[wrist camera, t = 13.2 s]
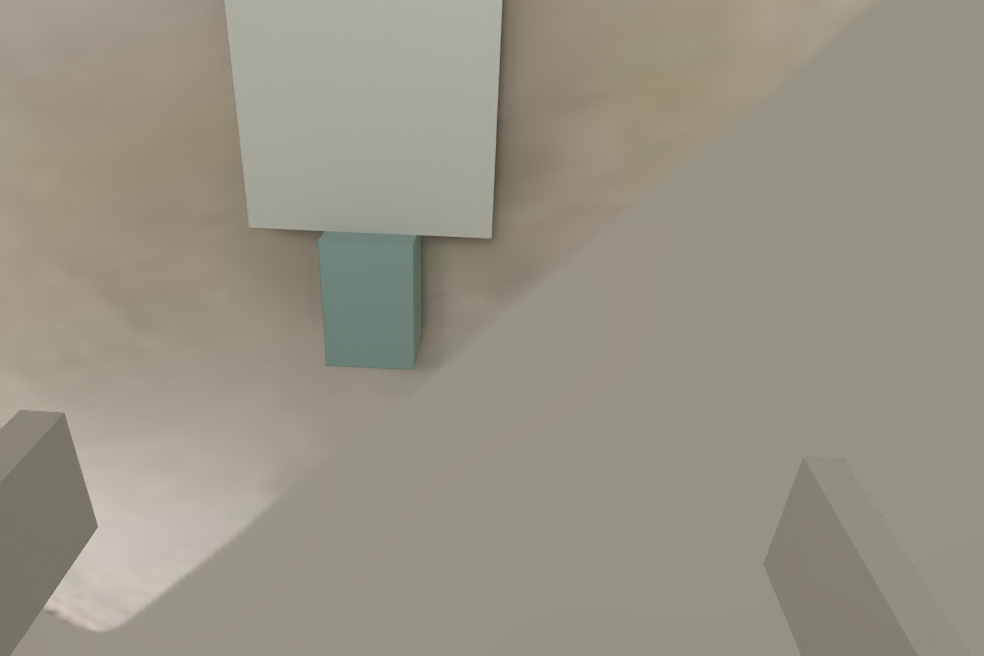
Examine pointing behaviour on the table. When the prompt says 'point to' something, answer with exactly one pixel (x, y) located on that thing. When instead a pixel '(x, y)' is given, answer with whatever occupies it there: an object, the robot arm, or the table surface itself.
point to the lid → (368, 147)
